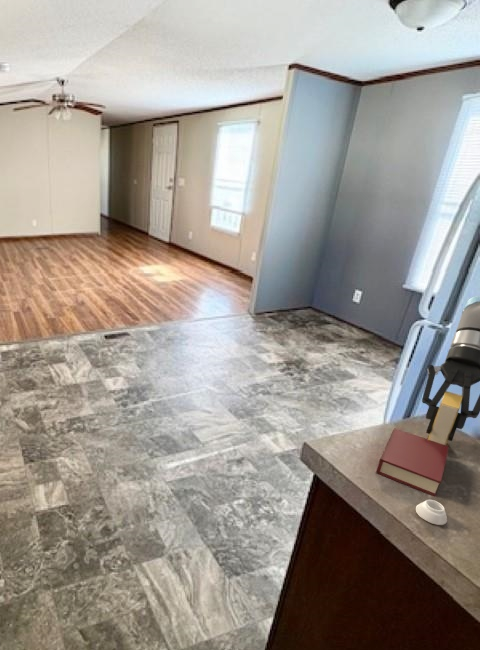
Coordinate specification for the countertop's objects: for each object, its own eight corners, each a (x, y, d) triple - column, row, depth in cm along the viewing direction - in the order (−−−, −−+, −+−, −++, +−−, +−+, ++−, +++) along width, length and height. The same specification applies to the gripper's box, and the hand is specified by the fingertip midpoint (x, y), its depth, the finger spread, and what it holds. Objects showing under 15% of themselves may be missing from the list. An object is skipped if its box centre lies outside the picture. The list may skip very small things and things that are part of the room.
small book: (447, 436, 107) (463, 395, 103) (443, 451, 102) (459, 409, 97) (430, 431, 110) (445, 390, 105) (425, 445, 104) (440, 403, 99)
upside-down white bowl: (435, 529, 82) (451, 521, 83) (440, 518, 80) (456, 510, 82) (409, 511, 86) (424, 504, 88) (413, 500, 85) (429, 493, 86)
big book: (389, 440, 107) (393, 427, 106) (443, 460, 100) (449, 446, 99) (375, 472, 96) (380, 458, 95) (435, 496, 90) (441, 481, 88)
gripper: (509, 368, 104) (481, 454, 99) (426, 349, 115) (397, 426, 110) (516, 355, 99) (487, 445, 94) (429, 336, 109) (399, 417, 104)
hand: (439, 435), depth 102 cm, fingers closed on small book, 3 cm apart
